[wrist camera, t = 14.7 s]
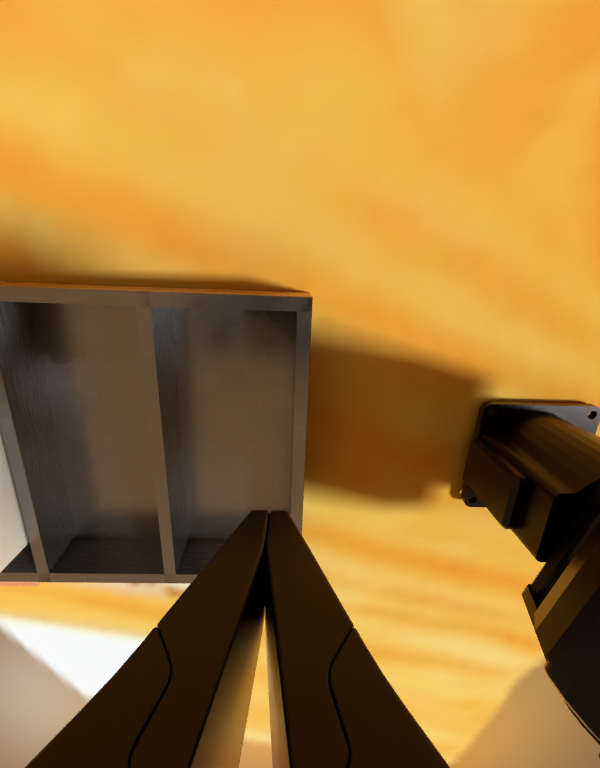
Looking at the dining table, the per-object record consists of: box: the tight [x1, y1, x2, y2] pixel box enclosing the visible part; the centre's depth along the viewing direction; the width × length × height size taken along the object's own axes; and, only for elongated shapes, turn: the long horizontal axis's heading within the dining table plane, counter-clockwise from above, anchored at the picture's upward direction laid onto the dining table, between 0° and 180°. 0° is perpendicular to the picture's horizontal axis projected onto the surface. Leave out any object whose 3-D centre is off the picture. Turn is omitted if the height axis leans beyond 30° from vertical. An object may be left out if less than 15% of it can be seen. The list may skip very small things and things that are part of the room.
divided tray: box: [0, 281, 313, 586], centre depth 18 cm, size 20×16×3 cm
